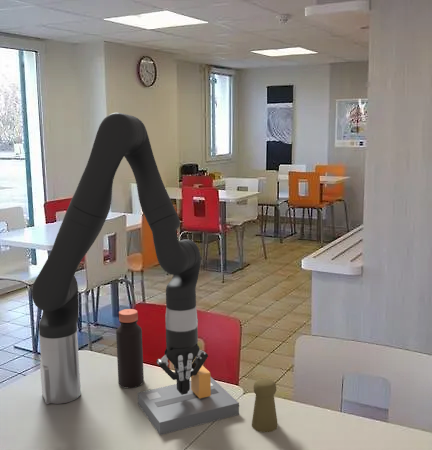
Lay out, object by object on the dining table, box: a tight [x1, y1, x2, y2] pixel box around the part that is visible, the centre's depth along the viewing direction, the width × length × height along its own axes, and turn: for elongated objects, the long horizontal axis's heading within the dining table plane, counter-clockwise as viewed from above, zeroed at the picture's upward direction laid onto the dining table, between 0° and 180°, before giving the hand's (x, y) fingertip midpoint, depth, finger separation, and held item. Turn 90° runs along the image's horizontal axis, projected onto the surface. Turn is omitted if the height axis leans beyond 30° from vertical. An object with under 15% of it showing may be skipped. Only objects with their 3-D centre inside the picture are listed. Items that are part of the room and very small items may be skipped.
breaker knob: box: [190, 364, 212, 399], centre depth 139 cm, size 3×5×6 cm, turn 26°
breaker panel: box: [136, 376, 240, 436], centre depth 139 cm, size 20×16×3 cm
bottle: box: [115, 308, 145, 389], centre depth 151 cm, size 7×7×20 cm
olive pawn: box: [251, 377, 279, 433], centre depth 130 cm, size 6×6×11 cm
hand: (183, 392), depth 137 cm, fingers closed
